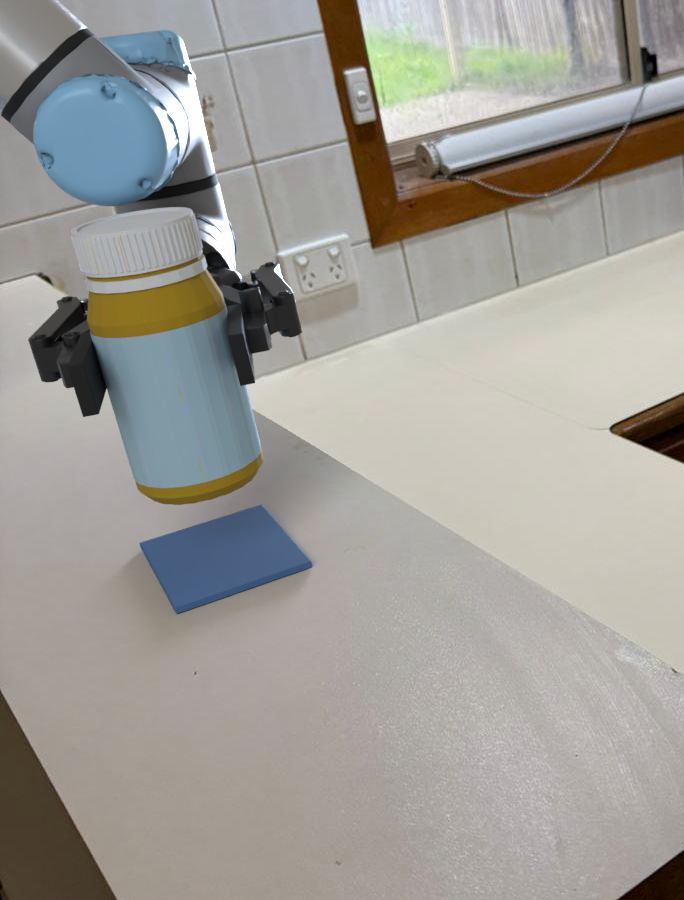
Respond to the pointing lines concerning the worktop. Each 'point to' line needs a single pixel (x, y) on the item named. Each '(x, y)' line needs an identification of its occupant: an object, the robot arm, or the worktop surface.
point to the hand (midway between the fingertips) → (163, 374)
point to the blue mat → (222, 557)
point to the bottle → (167, 355)
